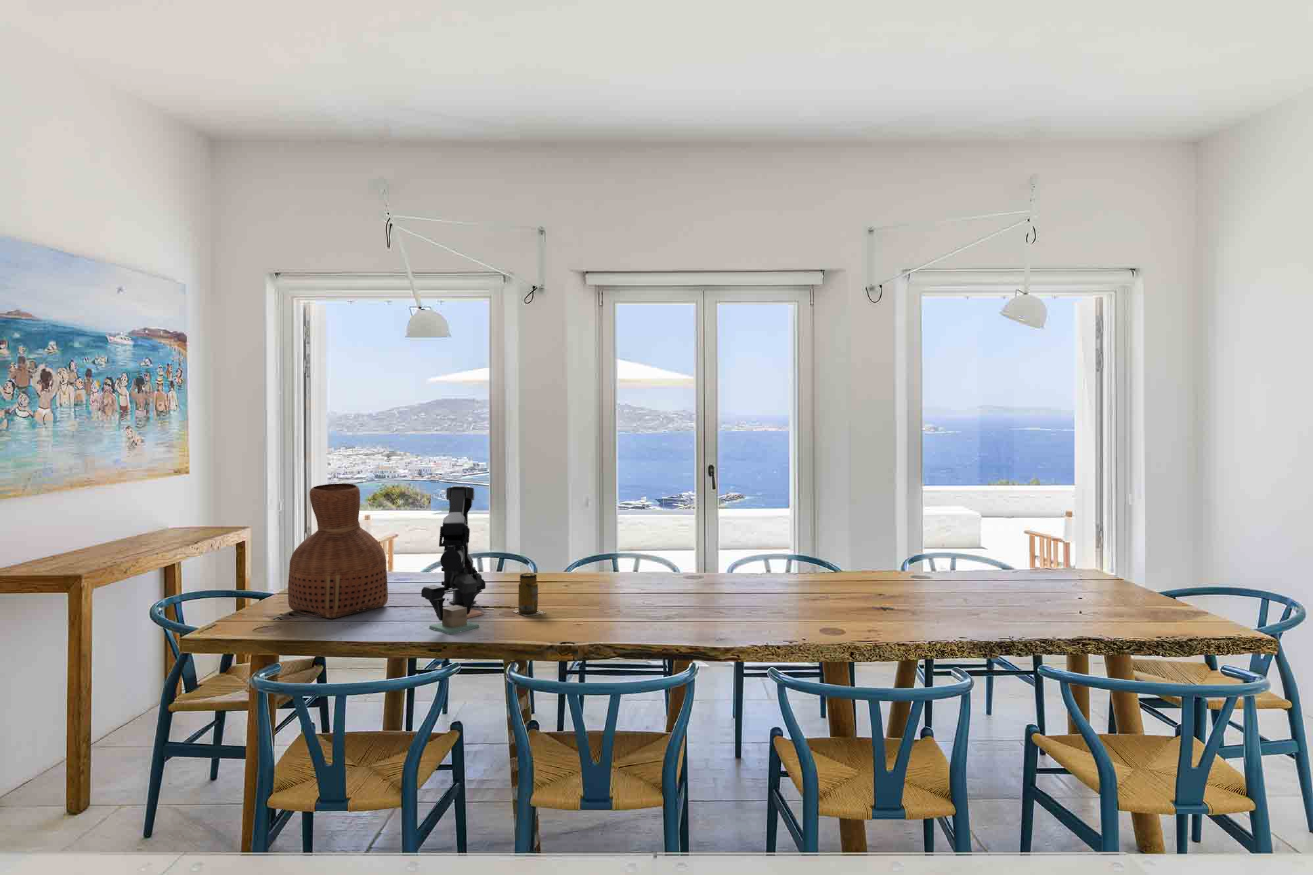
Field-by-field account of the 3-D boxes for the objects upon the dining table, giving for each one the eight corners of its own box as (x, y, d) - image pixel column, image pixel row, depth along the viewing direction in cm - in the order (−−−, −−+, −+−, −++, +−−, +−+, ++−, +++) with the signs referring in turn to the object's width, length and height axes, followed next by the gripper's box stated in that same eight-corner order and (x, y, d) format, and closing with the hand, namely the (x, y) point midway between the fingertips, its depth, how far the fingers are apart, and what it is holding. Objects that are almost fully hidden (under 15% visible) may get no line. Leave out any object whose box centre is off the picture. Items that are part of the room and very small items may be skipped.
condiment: (532, 608, 246) (532, 571, 246) (546, 613, 239) (546, 575, 239) (512, 611, 241) (512, 574, 241) (525, 617, 235) (525, 578, 235)
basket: (271, 613, 238) (270, 485, 238) (344, 595, 263) (343, 480, 262) (333, 624, 225) (332, 489, 225) (403, 605, 250) (403, 483, 249)
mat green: (429, 628, 221) (429, 625, 221) (458, 621, 229) (458, 618, 229) (450, 634, 215) (450, 631, 215) (479, 627, 223) (479, 624, 223)
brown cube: (442, 625, 222) (442, 608, 222) (456, 621, 226) (456, 605, 225) (452, 628, 219) (452, 610, 218) (466, 624, 222) (466, 607, 222)
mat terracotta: (436, 615, 236) (436, 612, 236) (463, 609, 244) (463, 606, 244) (456, 620, 230) (456, 618, 230) (482, 614, 238) (482, 611, 238)
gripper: (443, 572, 209) (443, 628, 210) (497, 562, 224) (497, 615, 224) (420, 567, 216) (420, 622, 217) (473, 558, 231) (473, 609, 231)
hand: (454, 617), depth 222 cm, fingers open, 9 cm apart
